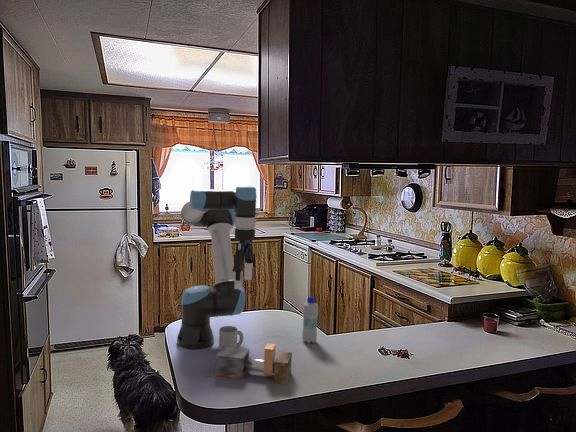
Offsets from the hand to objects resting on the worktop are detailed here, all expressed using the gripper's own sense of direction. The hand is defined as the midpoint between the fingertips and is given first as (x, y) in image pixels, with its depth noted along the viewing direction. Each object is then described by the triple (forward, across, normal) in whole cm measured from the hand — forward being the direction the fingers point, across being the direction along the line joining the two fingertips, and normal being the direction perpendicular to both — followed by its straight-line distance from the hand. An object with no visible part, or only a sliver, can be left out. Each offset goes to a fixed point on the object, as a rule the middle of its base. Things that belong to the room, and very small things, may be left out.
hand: (243, 284), depth 162 cm
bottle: (+31, +27, -23) cm, 47 cm away
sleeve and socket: (+30, -8, -7) cm, 32 cm away
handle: (+29, -8, -10) cm, 32 cm away
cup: (+31, +10, +7) cm, 33 cm away
